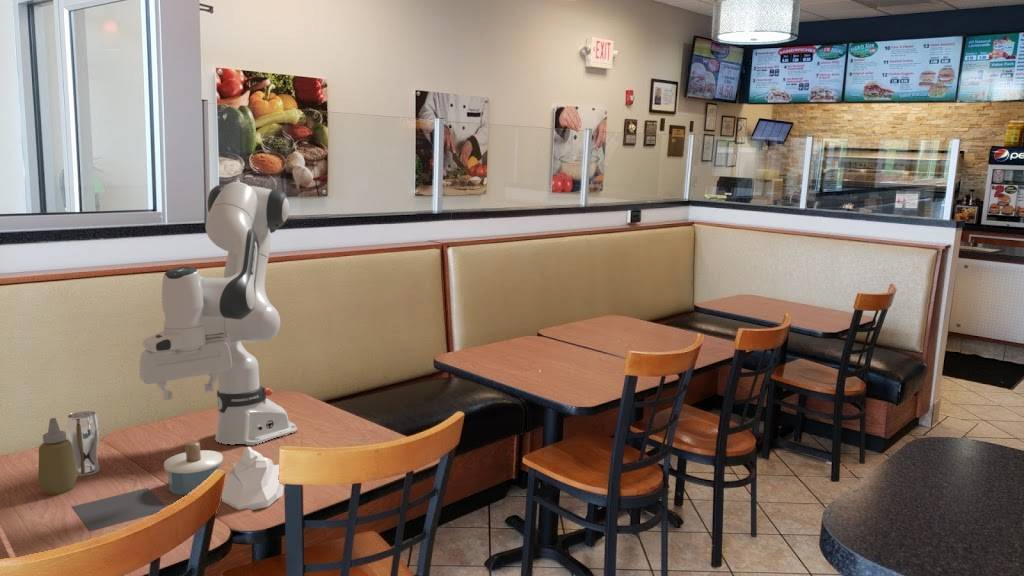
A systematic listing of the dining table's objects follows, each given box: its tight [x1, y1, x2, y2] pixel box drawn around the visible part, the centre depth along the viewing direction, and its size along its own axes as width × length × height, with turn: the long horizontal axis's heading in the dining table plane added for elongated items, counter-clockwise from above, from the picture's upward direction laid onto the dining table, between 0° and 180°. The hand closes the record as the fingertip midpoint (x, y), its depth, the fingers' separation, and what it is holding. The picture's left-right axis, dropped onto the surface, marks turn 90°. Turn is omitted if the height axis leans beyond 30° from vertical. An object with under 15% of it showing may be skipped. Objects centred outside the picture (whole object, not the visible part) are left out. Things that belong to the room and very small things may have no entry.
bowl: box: [167, 464, 221, 496], centre depth 186 cm, size 11×11×6 cm
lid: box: [163, 440, 224, 473], centre depth 185 cm, size 13×13×5 cm
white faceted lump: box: [221, 446, 285, 511], centre depth 178 cm, size 12×15×14 cm
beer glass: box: [66, 410, 101, 477], centre depth 196 cm, size 7×7×15 cm
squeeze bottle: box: [37, 417, 78, 496], centre depth 183 cm, size 8×8×18 cm
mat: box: [71, 487, 168, 532], centre depth 174 cm, size 16×16×1 cm
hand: (189, 395), depth 183 cm, fingers open, 8 cm apart
